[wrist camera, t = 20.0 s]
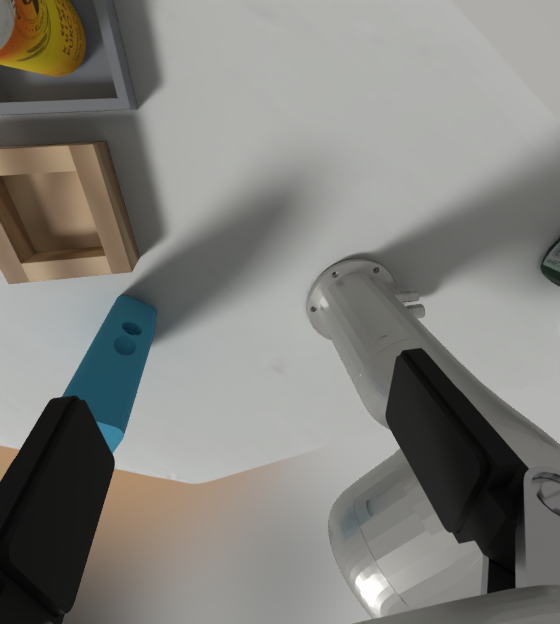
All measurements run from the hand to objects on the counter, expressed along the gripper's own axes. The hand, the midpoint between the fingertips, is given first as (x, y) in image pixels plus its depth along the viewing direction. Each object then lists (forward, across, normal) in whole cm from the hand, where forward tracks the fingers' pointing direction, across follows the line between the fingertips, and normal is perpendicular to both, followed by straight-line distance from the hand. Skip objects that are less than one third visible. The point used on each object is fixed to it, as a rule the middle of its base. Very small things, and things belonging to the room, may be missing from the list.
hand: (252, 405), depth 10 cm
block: (+31, +15, +15) cm, 37 cm away
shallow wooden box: (+30, +17, 0) cm, 35 cm away
